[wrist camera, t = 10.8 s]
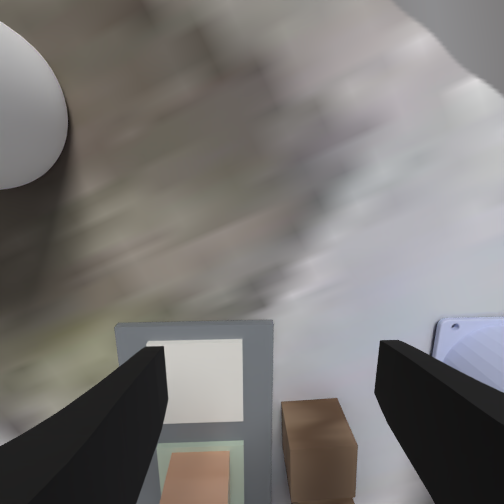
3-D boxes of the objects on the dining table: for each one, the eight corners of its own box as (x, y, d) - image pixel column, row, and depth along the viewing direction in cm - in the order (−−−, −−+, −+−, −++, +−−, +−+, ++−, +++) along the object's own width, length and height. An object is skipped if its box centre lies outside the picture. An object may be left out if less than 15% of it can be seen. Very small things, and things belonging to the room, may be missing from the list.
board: (272, 319, 20) (274, 327, 19) (268, 577, 26) (269, 593, 25) (118, 322, 20) (111, 330, 19) (149, 583, 25) (146, 599, 24)
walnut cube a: (336, 397, 22) (357, 445, 18) (335, 442, 23) (355, 497, 19) (281, 400, 22) (290, 450, 18) (282, 446, 23) (291, 502, 19)
